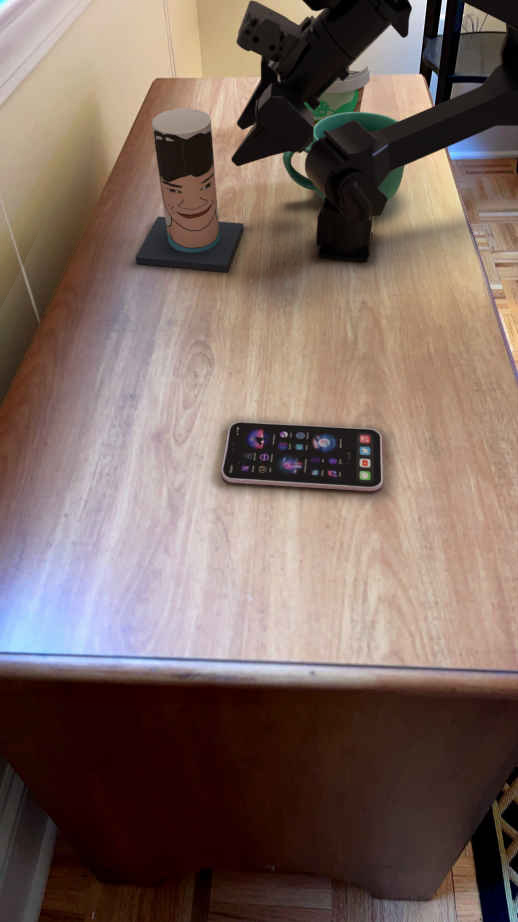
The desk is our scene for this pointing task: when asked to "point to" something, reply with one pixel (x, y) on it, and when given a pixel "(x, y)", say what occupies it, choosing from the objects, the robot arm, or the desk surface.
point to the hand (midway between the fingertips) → (236, 144)
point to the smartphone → (303, 456)
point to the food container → (342, 96)
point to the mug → (335, 121)
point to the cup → (187, 178)
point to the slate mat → (212, 259)
